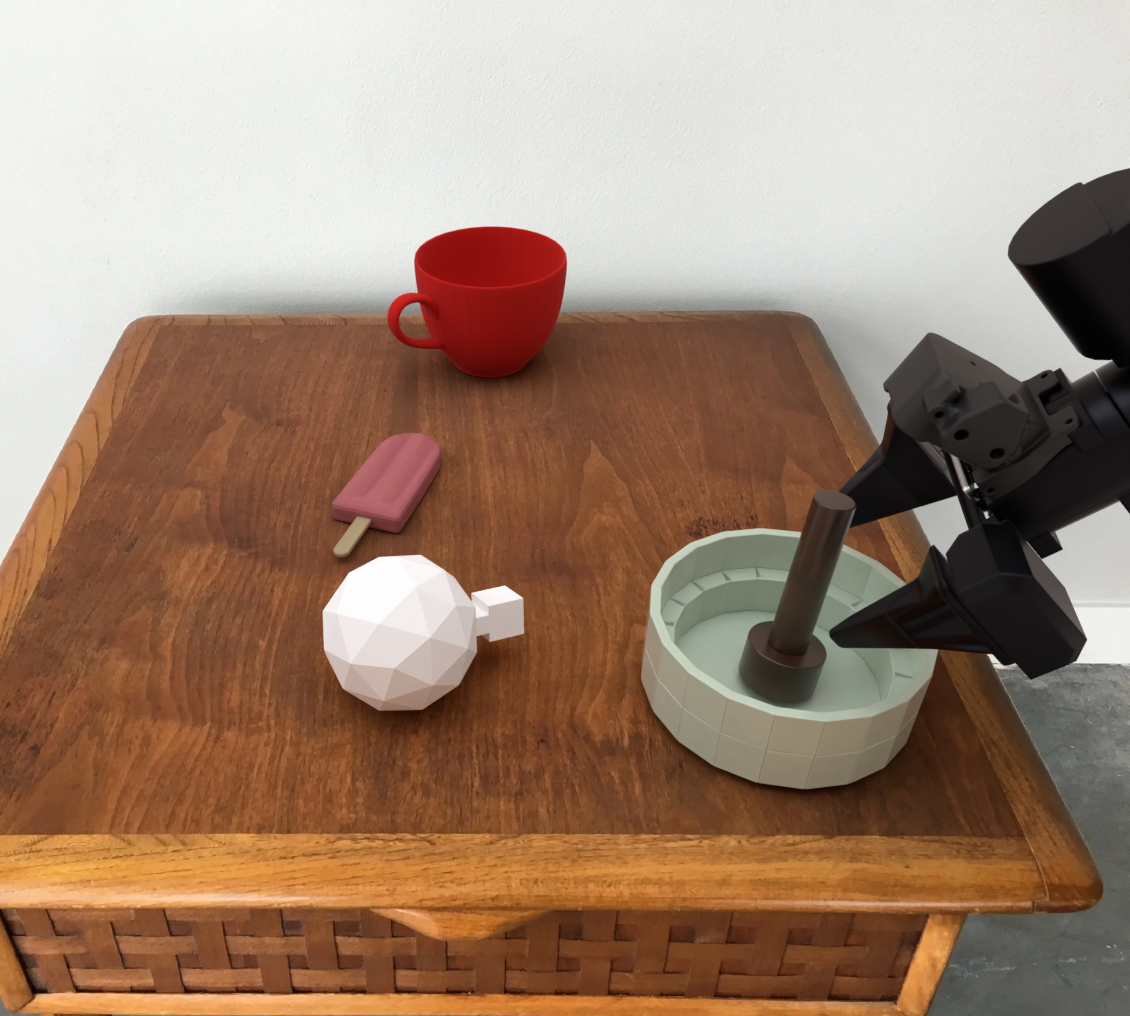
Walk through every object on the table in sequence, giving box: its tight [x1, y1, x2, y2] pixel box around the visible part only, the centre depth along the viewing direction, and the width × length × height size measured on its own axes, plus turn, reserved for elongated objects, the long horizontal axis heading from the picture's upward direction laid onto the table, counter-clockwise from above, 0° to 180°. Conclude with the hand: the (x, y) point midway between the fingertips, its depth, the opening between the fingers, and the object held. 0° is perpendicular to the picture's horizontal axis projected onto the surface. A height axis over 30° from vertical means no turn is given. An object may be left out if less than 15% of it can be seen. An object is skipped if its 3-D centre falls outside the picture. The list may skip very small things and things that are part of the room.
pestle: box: [739, 489, 856, 702], centre depth 56 cm, size 4×4×12 cm
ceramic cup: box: [386, 225, 568, 378], centre depth 88 cm, size 13×17×10 cm
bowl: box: [640, 527, 939, 790], centre depth 58 cm, size 15×15×6 cm
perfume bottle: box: [322, 554, 525, 712], centre depth 58 cm, size 9×9×12 cm
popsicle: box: [331, 432, 442, 558], centre depth 74 cm, size 5×2×15 cm
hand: (824, 579), depth 54 cm, fingers open, 9 cm apart
